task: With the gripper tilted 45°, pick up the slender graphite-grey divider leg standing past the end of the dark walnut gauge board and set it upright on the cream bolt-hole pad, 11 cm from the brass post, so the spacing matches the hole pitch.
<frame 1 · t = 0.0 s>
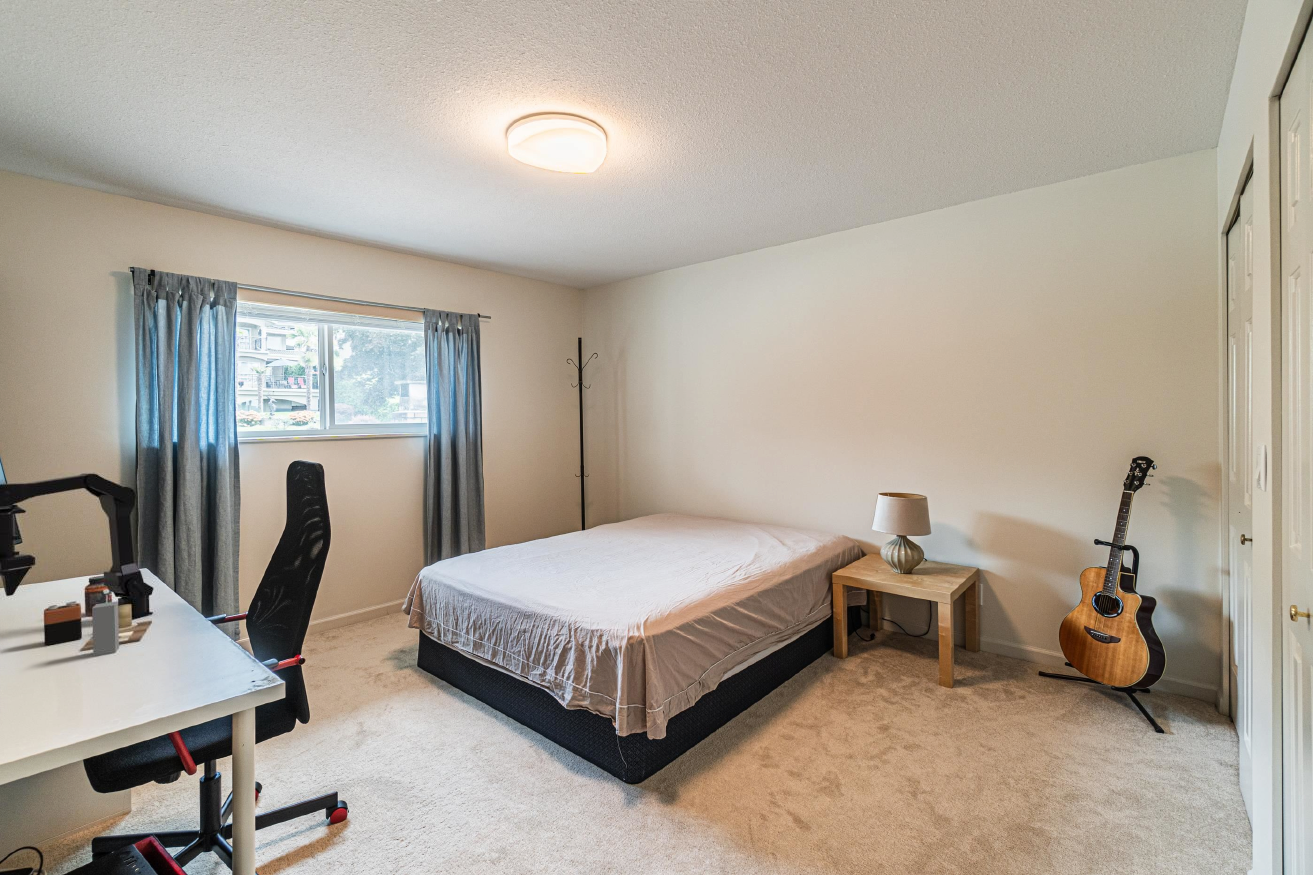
supplement bottle: (98, 613, 174), on the table
gauge board: (119, 635, 153), on the table
battery: (63, 641, 150), on the table
divider leg: (106, 651, 142), on the table
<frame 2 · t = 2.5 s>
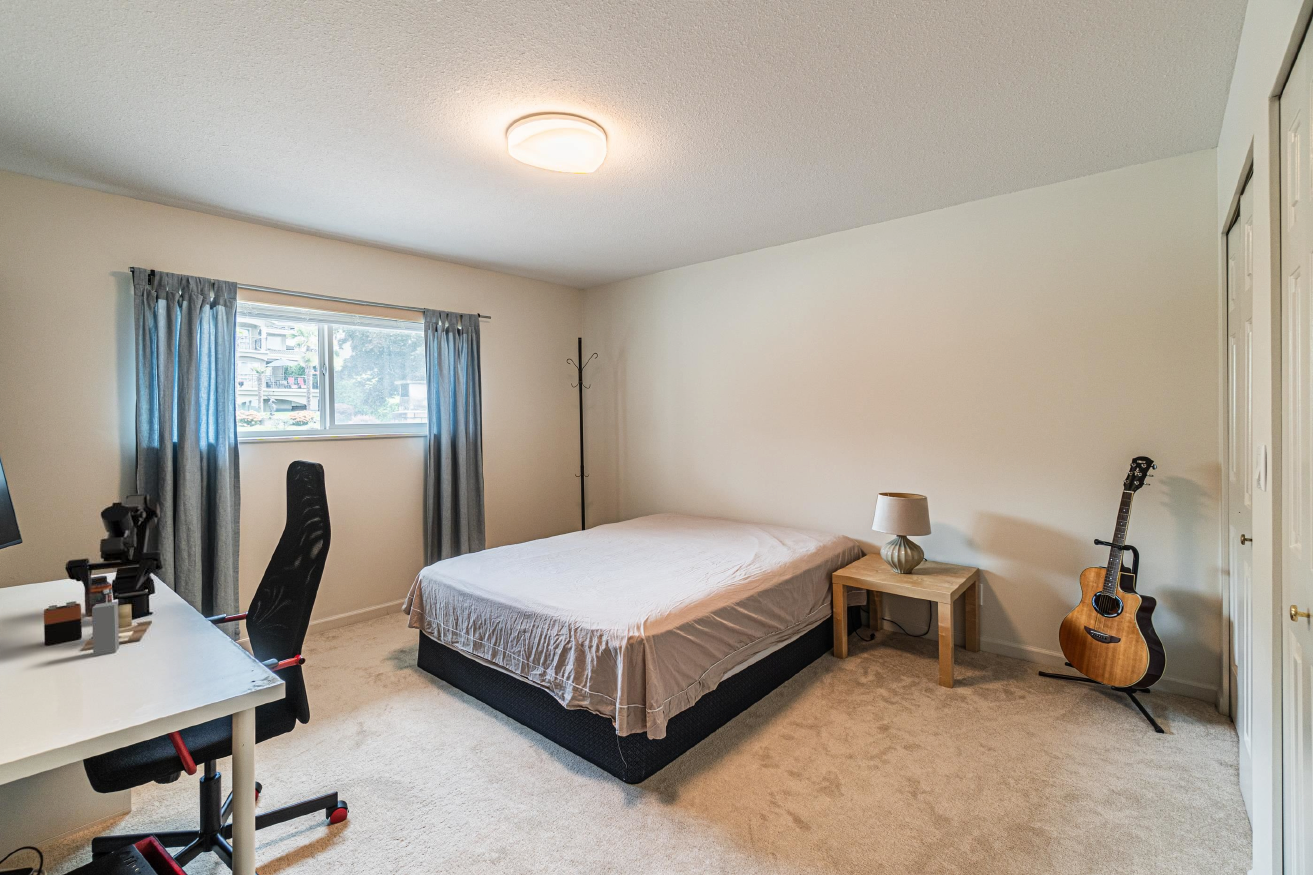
hand: (112, 591, 148), 13 cm above the table, tool tilted 45°, fingers open, 9 cm apart
nothing on the table moved.
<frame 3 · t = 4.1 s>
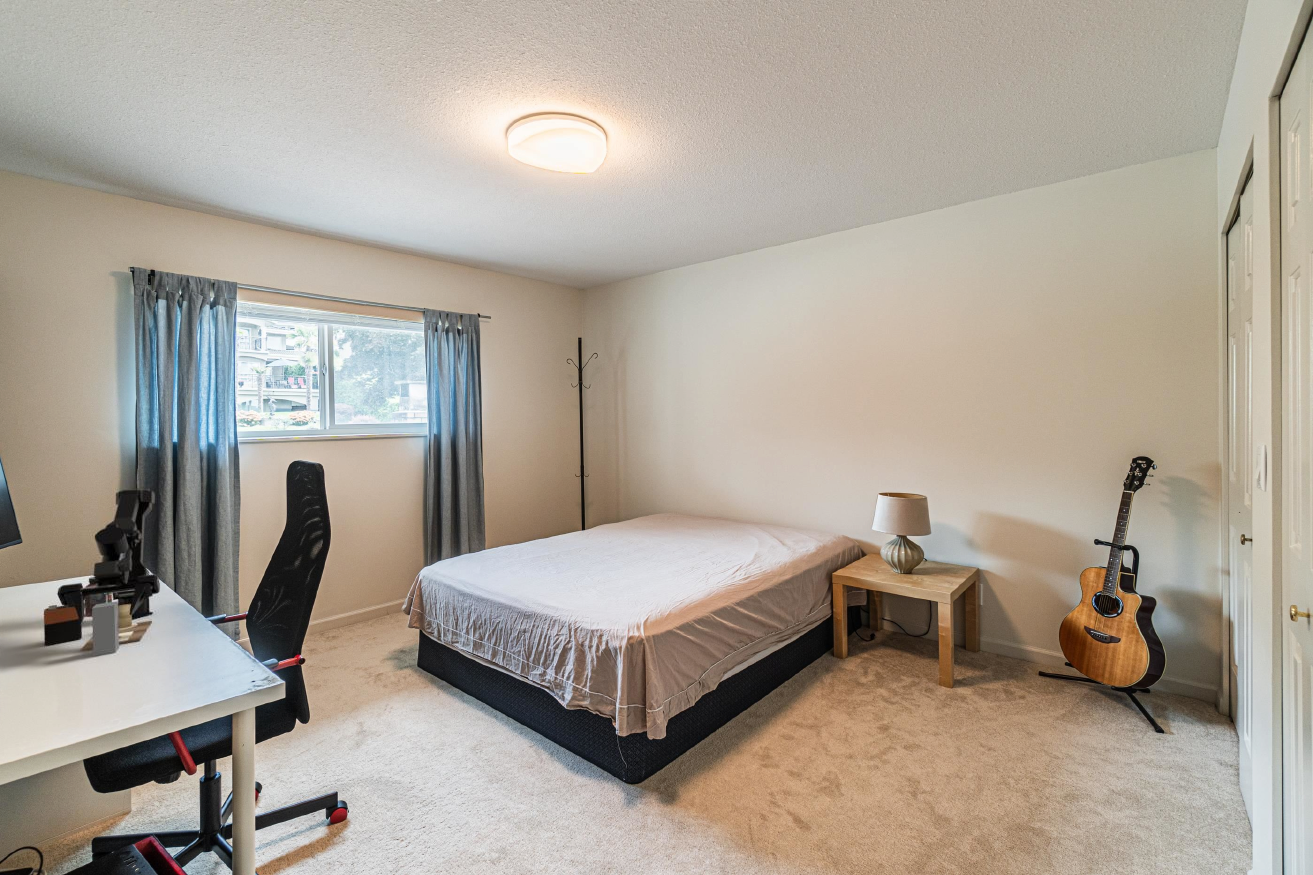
hand: (106, 617, 142), 8 cm above the table, tool tilted 45°, fingers open, 9 cm apart
nothing on the table moved.
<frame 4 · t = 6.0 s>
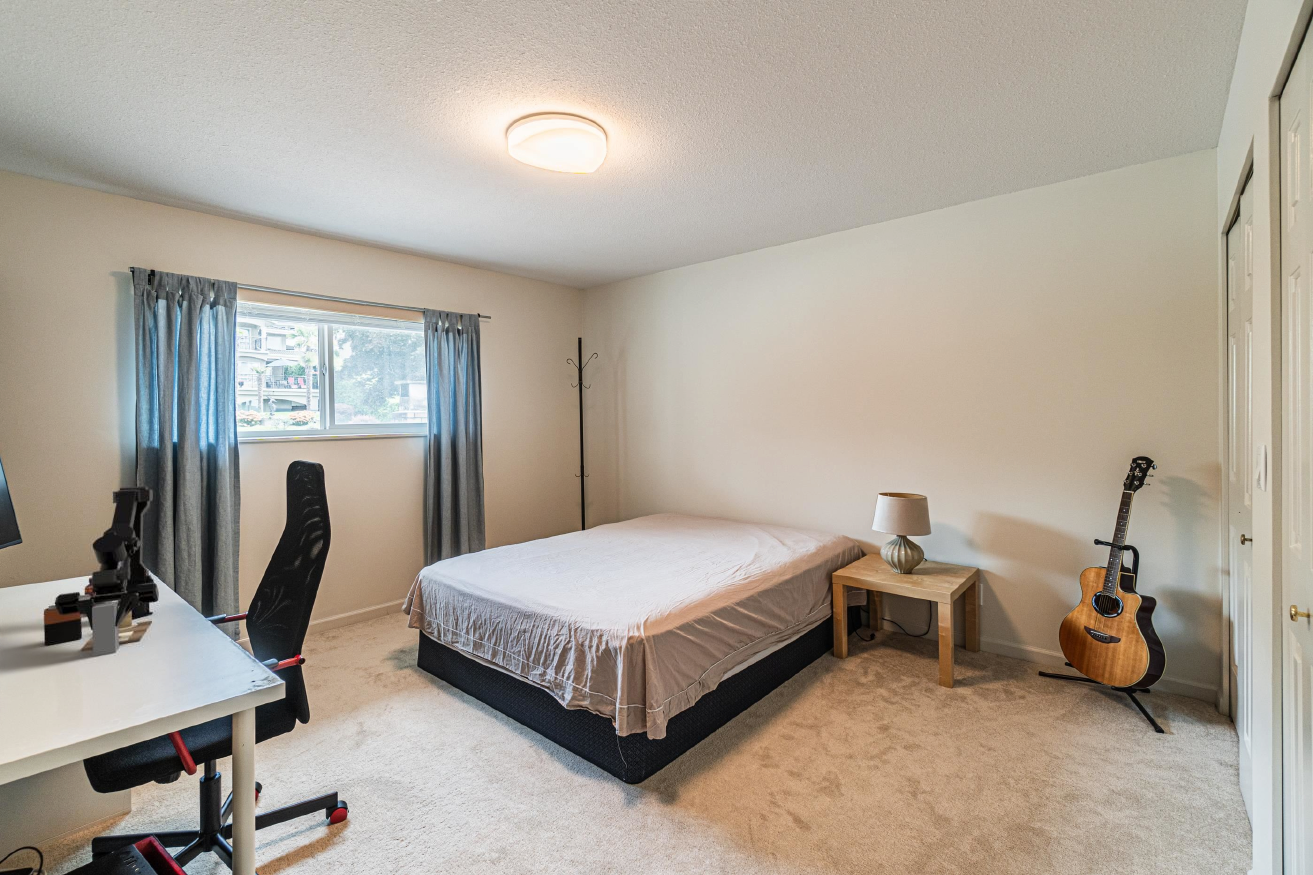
hand: (104, 627, 140), 7 cm above the table, tool tilted 45°, fingers closed on divider leg, 4 cm apart
divider leg: (106, 651, 142), on the table, touching gripper
everything else where it was.
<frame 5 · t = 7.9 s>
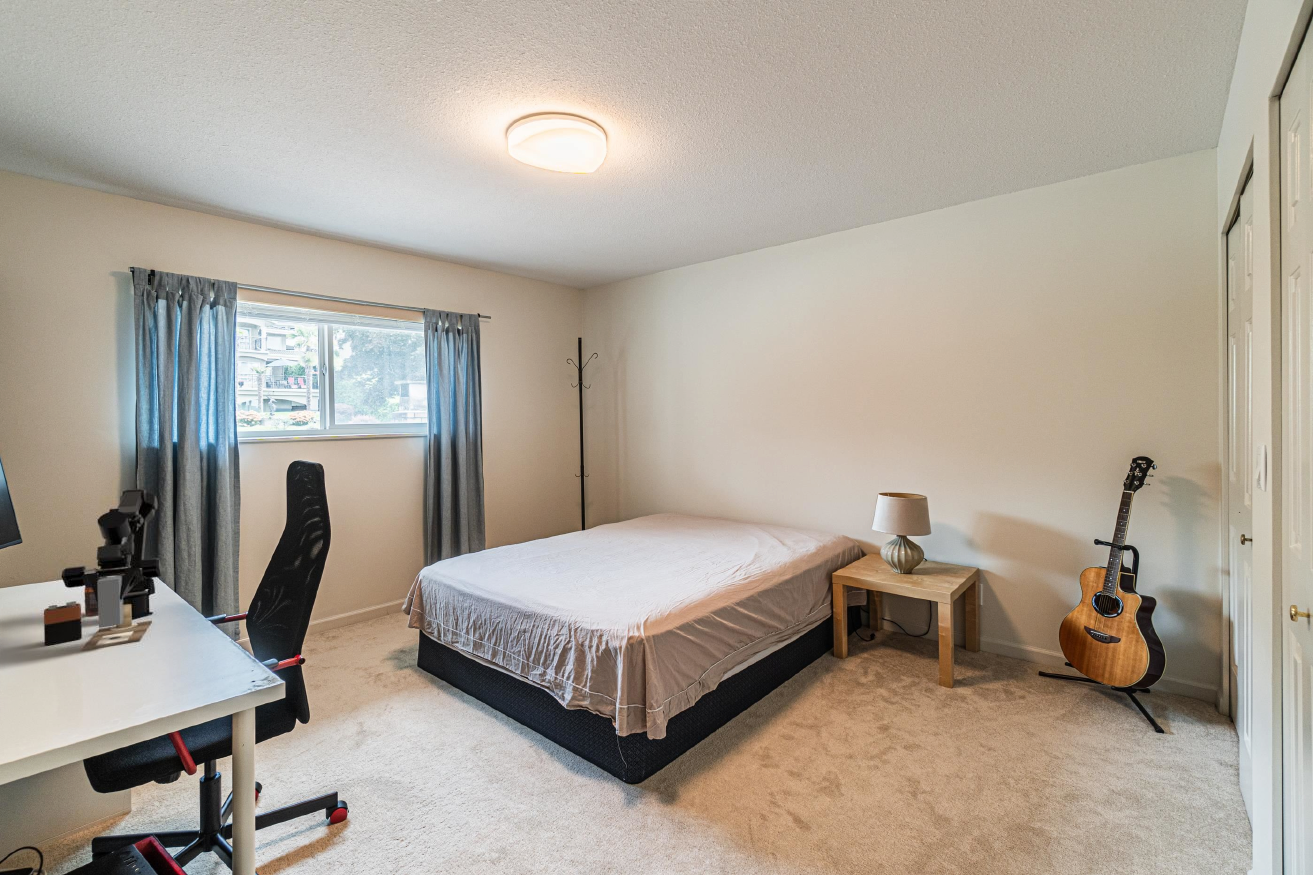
hand: (109, 600, 145), 12 cm above the table, tool tilted 45°, fingers closed on divider leg, 4 cm apart
divider leg: (111, 623, 146), point 5 cm above the table, touching gripper
everything else where it was.
when the fingers open (9 cm above the table, at t = 10.0 s): divider leg drops 1 cm, resting on gauge board.
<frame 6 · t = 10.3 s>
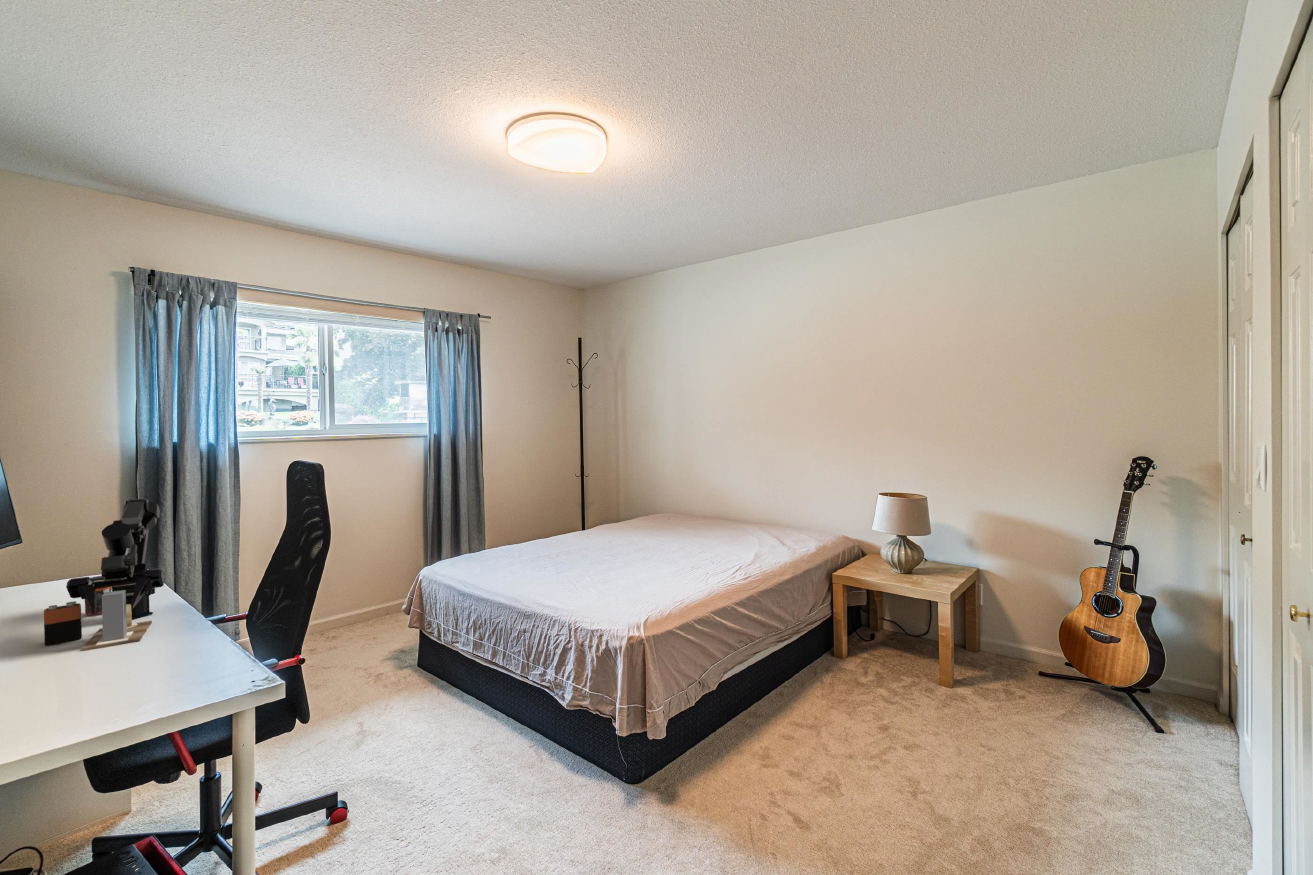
hand: (113, 610, 148), 9 cm above the table, tool tilted 45°, fingers open, 7 cm apart
divider leg: (115, 637, 149), point 1 cm above the table, touching gauge board
everything else where it was.
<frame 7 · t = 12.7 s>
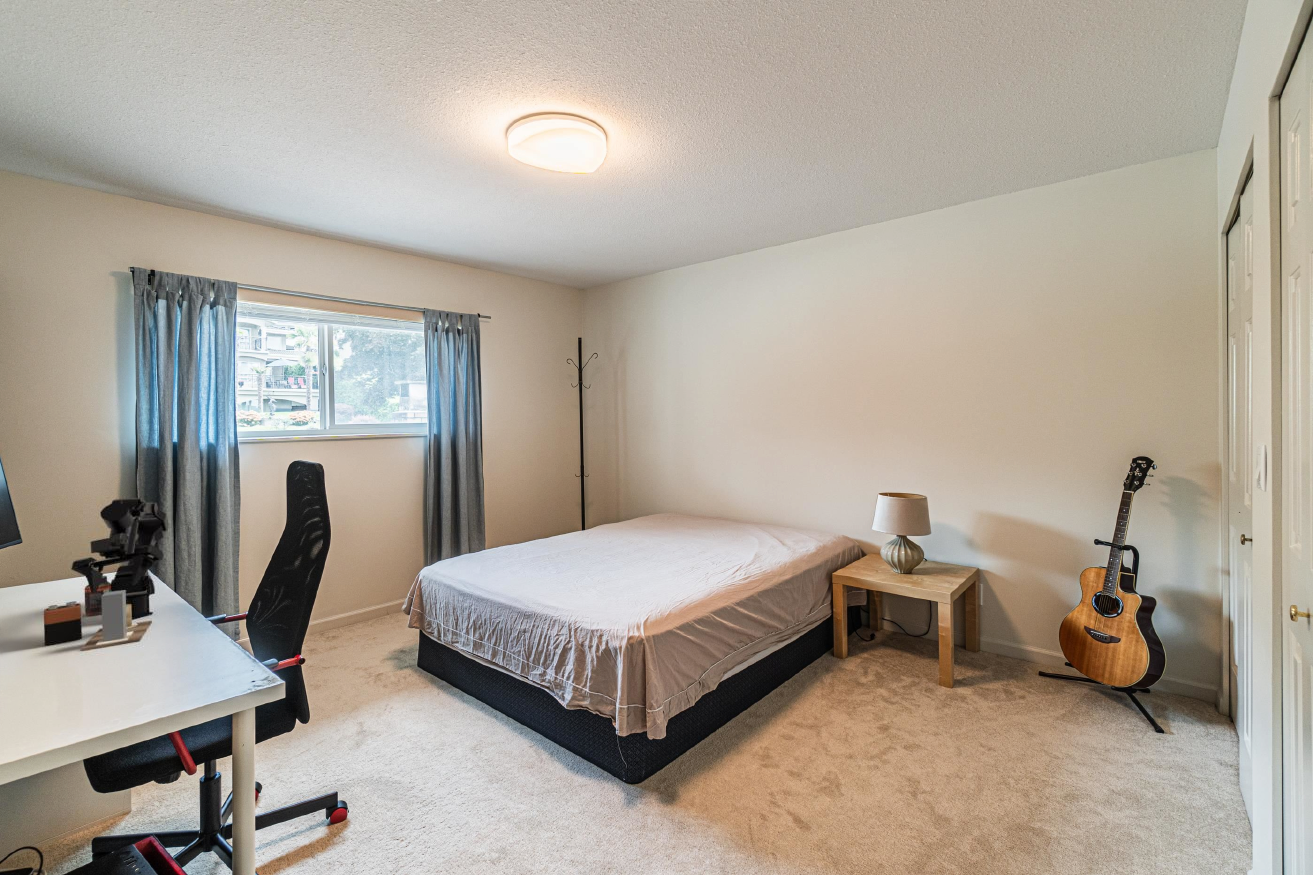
hand: (113, 588, 155), 13 cm above the table, tool tilted 35°, fingers open, 9 cm apart
nothing on the table moved.
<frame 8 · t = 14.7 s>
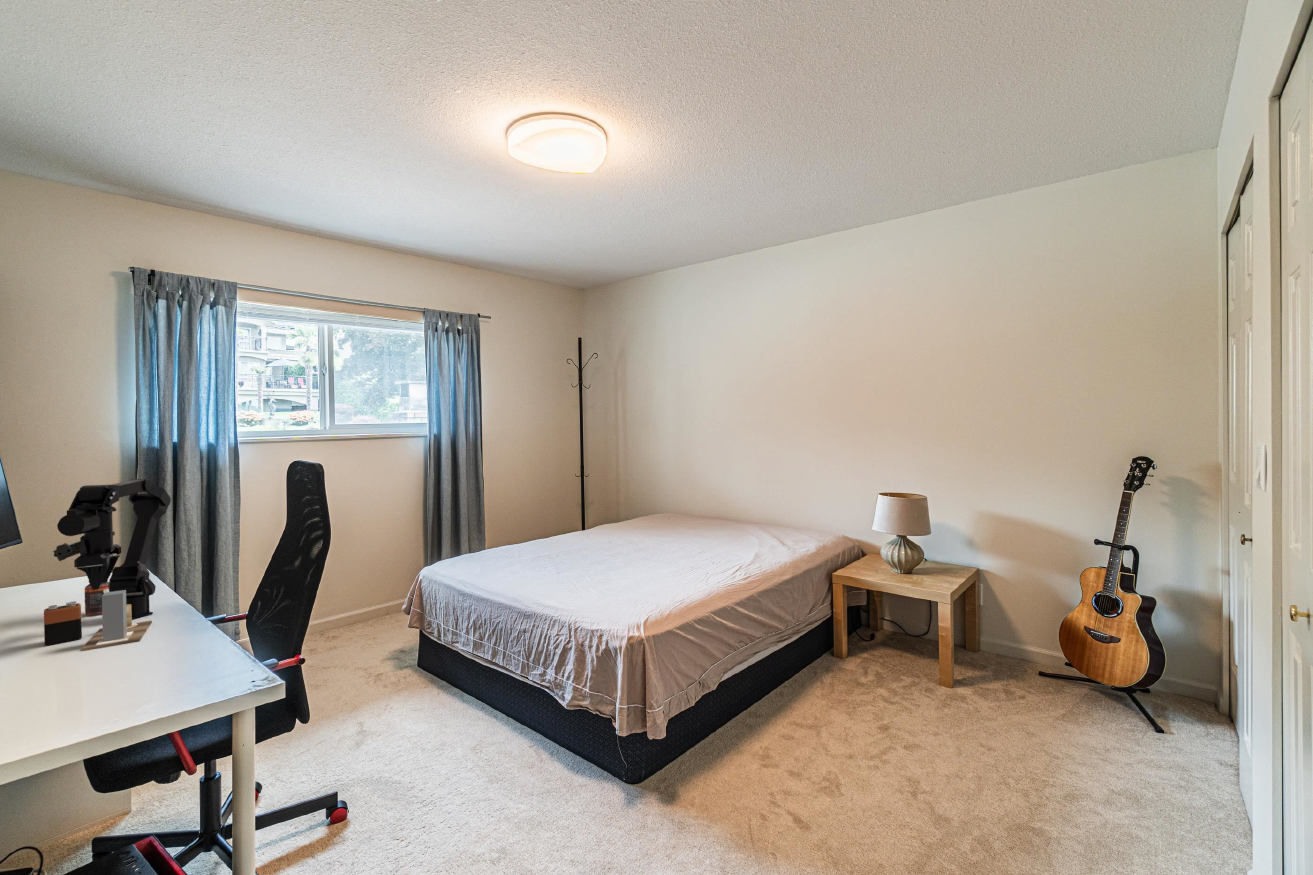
hand: (99, 585, 156), 13 cm above the table, tool pointing down, fingers open, 9 cm apart
nothing on the table moved.
at the end: divider leg 0.0 cm from the target spot on the gauge board, point 0.8 cm above the gauge board's base; divider leg tilted 0°; the gripper is holding nothing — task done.
